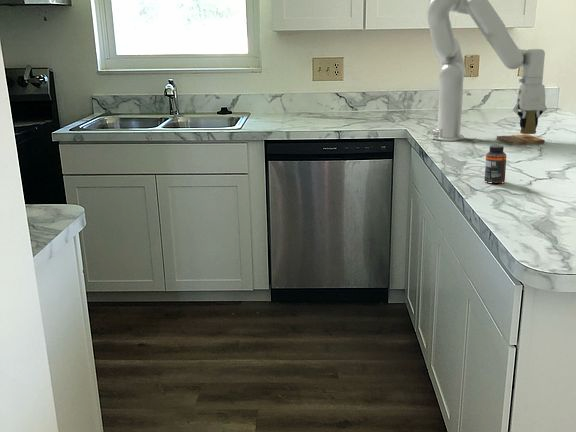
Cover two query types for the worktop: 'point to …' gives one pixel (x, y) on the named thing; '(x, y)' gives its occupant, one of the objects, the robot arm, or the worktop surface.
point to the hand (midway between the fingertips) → (528, 127)
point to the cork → (529, 123)
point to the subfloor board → (520, 140)
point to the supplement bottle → (495, 164)
